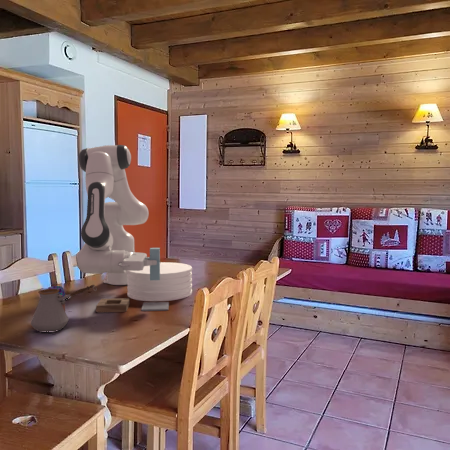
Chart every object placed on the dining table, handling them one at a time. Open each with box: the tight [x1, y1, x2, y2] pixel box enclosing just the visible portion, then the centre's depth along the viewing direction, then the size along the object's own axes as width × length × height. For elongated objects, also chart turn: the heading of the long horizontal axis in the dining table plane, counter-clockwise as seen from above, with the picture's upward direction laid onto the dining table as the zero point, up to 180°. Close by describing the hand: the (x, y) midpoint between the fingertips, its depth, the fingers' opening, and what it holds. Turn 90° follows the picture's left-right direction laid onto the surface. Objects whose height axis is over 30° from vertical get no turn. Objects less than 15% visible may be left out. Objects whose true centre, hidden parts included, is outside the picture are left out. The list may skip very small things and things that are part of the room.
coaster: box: [141, 301, 170, 312], centre depth 177 cm, size 10×10×1 cm
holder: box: [95, 297, 131, 313], centre depth 176 cm, size 11×11×2 cm
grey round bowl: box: [47, 285, 72, 301], centre depth 190 cm, size 12×12×5 cm
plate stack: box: [126, 261, 193, 302], centre depth 200 cm, size 28×28×12 cm
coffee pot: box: [30, 284, 97, 332], centre depth 149 cm, size 21×12×15 cm, turn 87°
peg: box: [149, 247, 161, 280], centre depth 176 cm, size 4×4×12 cm
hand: (157, 261), depth 176 cm, fingers closed on peg, 4 cm apart
